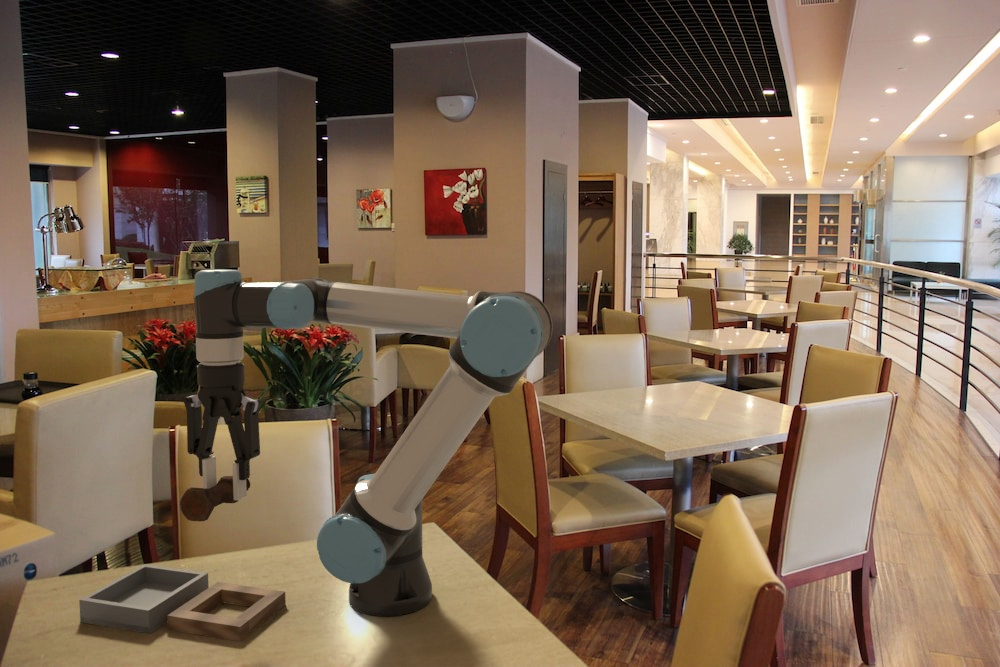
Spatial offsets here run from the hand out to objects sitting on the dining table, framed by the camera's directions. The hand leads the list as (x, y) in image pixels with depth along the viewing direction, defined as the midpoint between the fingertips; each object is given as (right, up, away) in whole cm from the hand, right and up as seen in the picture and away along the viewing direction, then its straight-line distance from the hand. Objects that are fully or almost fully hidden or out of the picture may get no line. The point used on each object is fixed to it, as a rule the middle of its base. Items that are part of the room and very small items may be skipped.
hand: (225, 495), depth 139 cm
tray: (-16, -21, +6) cm, 27 cm away
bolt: (0, +3, -2) cm, 4 cm away
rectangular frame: (0, -22, +3) cm, 22 cm away
